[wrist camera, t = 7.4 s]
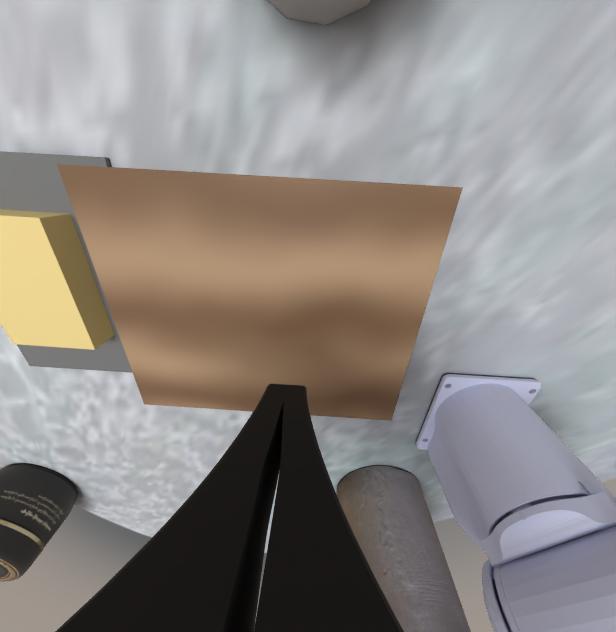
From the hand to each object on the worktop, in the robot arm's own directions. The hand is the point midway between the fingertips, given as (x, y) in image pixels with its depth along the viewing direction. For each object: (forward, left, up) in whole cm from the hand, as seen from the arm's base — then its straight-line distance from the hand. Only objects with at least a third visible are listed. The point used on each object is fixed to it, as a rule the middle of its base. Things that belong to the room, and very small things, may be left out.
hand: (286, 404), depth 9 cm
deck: (0, +2, -10) cm, 10 cm away
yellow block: (0, +18, -8) cm, 19 cm away
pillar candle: (-24, -10, -10) cm, 28 cm away
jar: (-28, +32, -10) cm, 44 cm away
